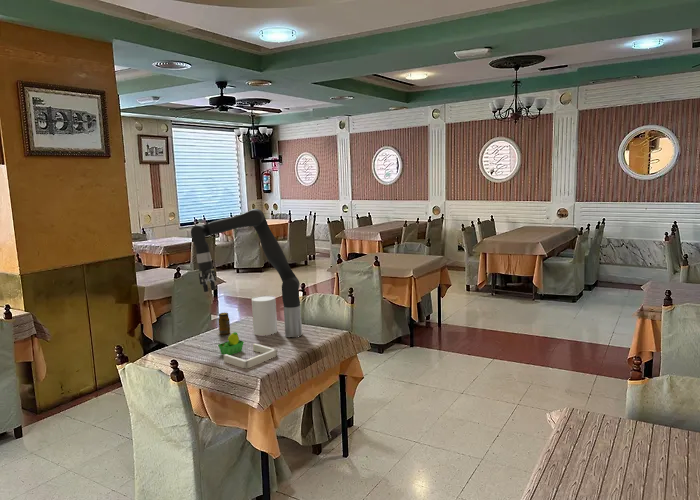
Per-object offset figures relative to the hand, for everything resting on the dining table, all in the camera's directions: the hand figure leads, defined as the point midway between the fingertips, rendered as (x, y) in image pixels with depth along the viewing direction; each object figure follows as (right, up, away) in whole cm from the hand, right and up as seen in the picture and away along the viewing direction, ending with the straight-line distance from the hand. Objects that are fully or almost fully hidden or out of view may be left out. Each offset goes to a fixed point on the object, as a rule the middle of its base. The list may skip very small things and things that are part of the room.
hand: (210, 290), depth 274 cm
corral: (+28, -32, -27) cm, 50 cm away
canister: (+28, -25, +16) cm, 41 cm away
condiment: (+5, -27, +15) cm, 31 cm away
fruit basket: (+16, -31, -17) cm, 39 cm away
